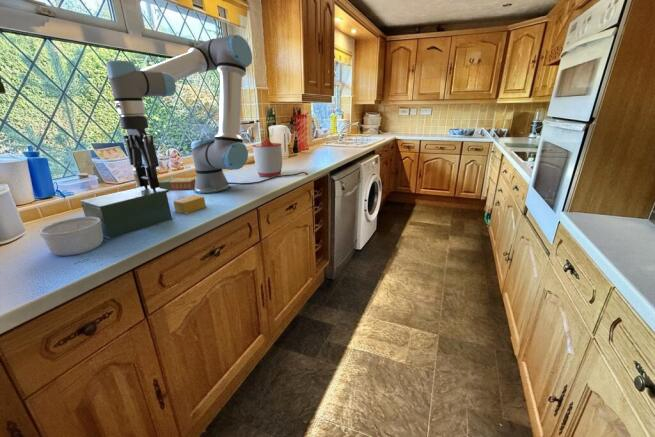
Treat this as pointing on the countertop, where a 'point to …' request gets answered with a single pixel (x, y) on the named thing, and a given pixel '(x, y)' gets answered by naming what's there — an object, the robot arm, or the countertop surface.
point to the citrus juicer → (268, 158)
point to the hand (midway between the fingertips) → (149, 186)
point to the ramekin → (73, 235)
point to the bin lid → (124, 196)
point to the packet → (189, 204)
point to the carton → (177, 183)
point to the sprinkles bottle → (136, 178)
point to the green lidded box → (131, 215)
